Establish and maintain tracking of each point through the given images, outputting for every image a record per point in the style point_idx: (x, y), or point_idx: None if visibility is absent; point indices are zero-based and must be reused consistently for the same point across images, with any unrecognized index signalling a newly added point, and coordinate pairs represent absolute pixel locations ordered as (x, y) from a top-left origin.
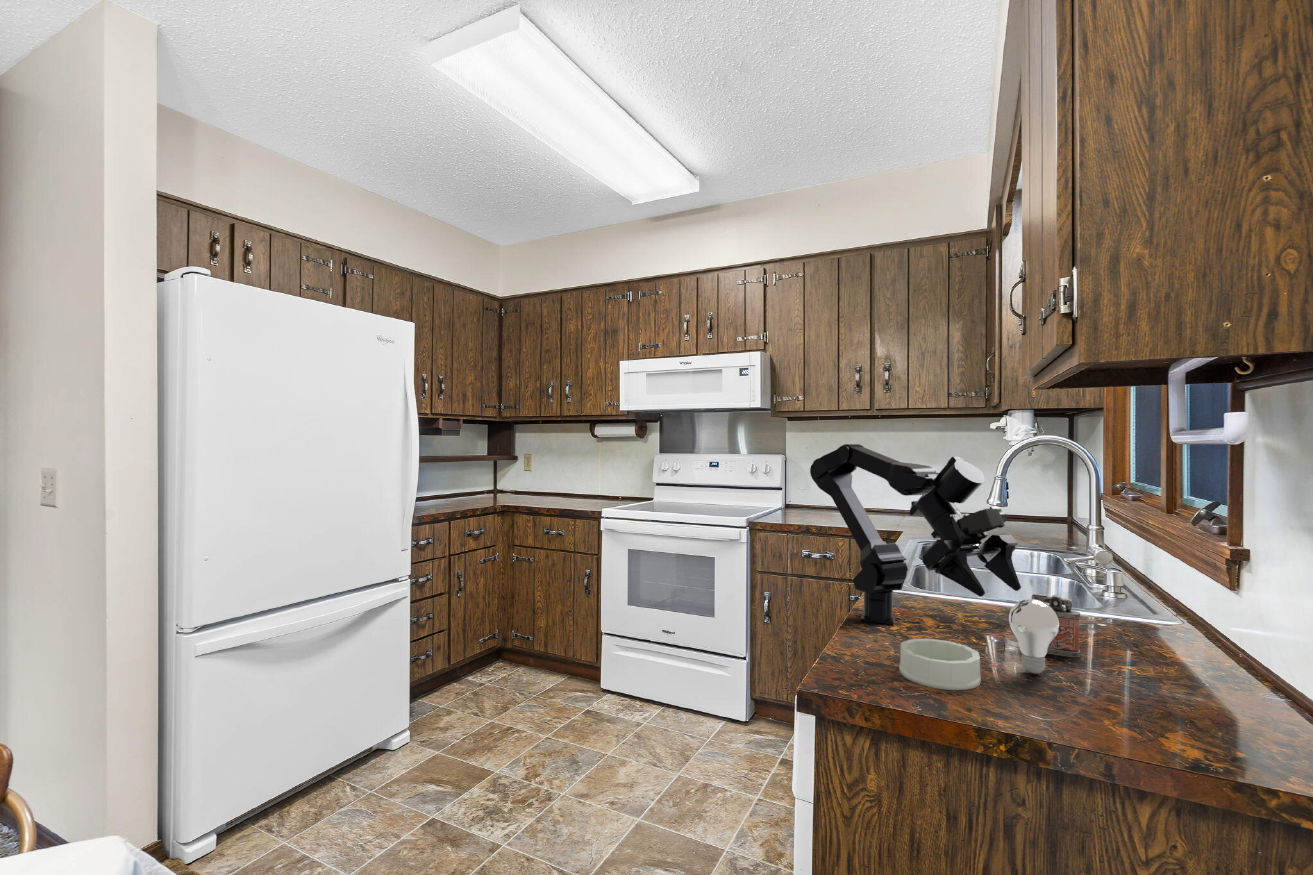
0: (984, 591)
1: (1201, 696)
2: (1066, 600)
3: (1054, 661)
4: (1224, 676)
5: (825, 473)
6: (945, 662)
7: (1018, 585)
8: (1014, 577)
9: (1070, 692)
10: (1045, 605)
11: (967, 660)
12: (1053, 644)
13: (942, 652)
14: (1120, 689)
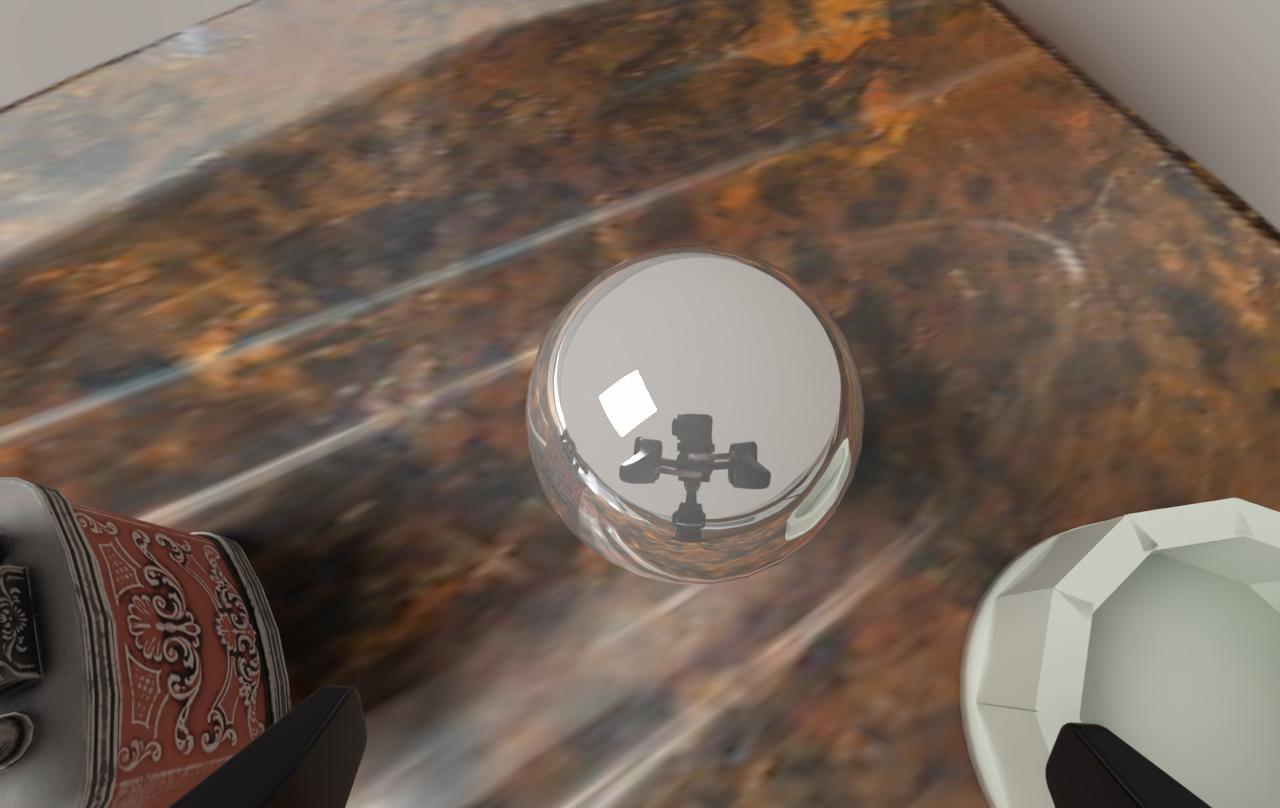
0: (1084, 736)
1: (362, 124)
2: None
3: (399, 557)
4: (49, 162)
5: None
6: None
7: (337, 708)
8: (259, 802)
9: None
10: (695, 259)
11: (1228, 525)
12: (239, 628)
13: None
14: (529, 257)
